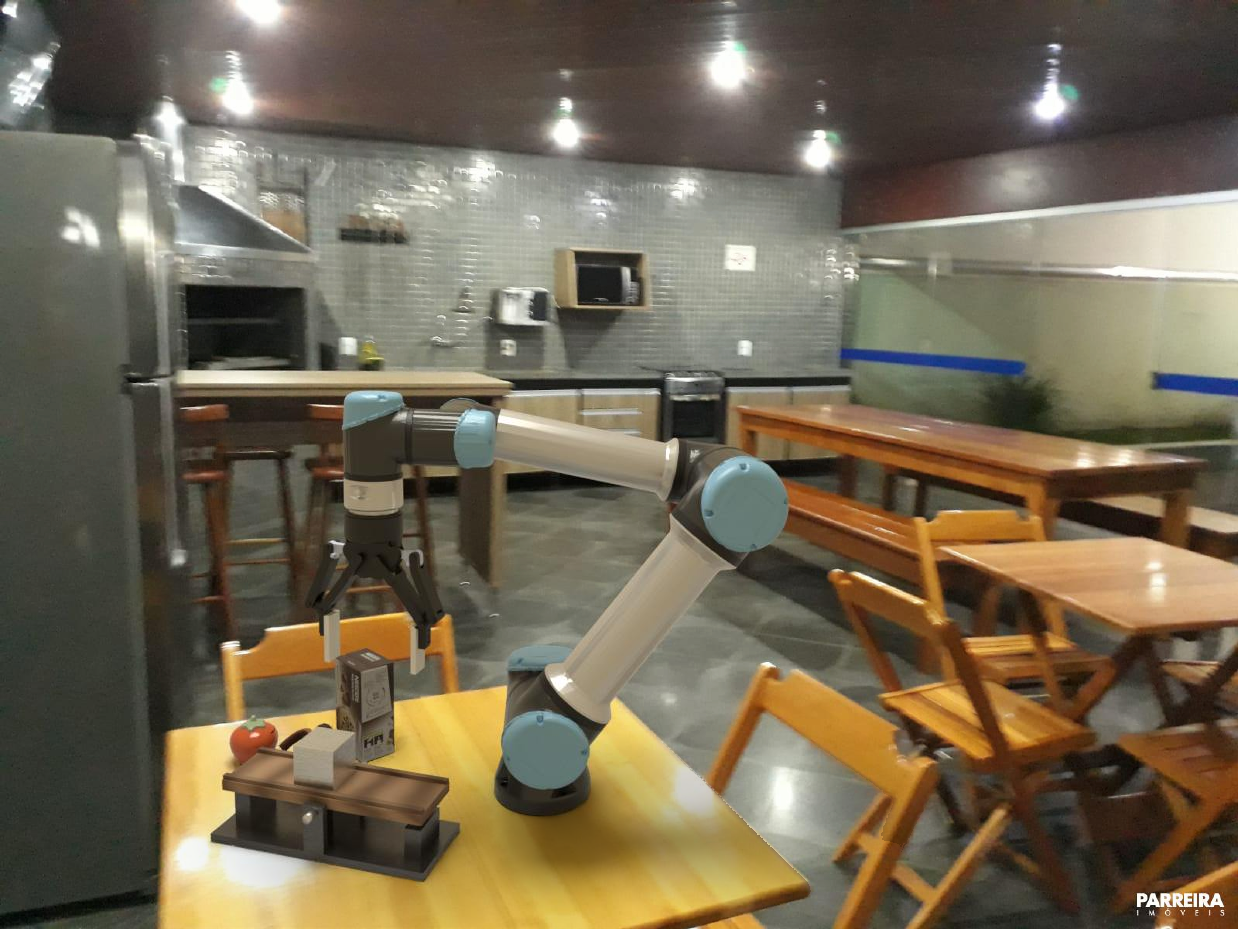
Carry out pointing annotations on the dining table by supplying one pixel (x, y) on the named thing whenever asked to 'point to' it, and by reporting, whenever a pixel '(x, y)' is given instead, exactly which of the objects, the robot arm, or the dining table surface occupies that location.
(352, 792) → the seesaw beam
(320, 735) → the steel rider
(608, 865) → the dining table surface
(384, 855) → the pivot stand
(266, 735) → the tomato
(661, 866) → the dining table surface
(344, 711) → the coffee box
